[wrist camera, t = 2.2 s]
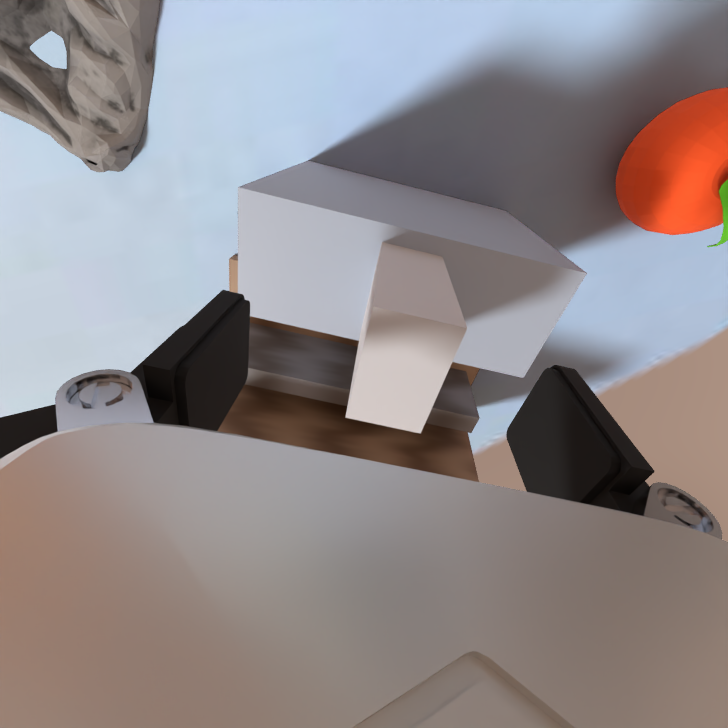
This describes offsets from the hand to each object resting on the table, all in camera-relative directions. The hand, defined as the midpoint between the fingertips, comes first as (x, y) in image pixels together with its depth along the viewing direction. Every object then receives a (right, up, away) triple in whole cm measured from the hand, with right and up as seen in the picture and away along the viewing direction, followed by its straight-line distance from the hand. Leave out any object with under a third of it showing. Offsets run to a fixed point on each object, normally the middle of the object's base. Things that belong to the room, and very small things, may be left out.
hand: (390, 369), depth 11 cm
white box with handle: (+2, +10, +14) cm, 18 cm away
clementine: (+18, +13, +11) cm, 25 cm away
